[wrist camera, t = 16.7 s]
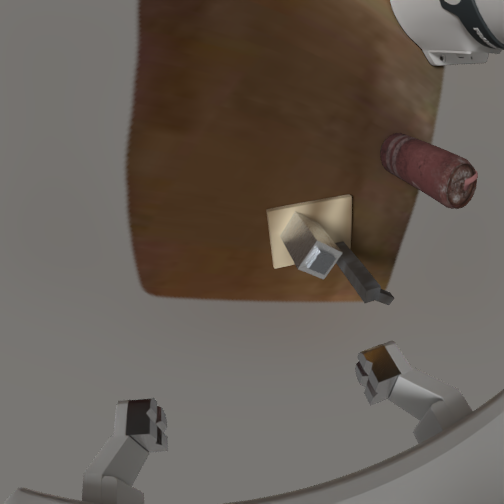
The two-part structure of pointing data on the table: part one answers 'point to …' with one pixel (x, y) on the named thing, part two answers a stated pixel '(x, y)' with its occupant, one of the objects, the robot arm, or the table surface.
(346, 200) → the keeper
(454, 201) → the can
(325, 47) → the table surface
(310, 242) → the grey square pillar
